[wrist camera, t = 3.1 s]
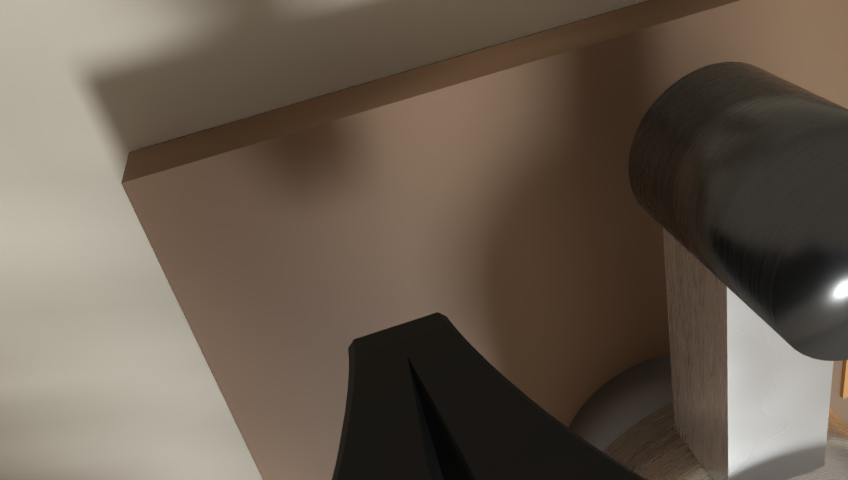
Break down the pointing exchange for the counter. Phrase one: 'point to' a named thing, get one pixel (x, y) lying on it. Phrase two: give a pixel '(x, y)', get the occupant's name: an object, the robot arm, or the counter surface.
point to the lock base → (456, 220)
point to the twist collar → (746, 277)
